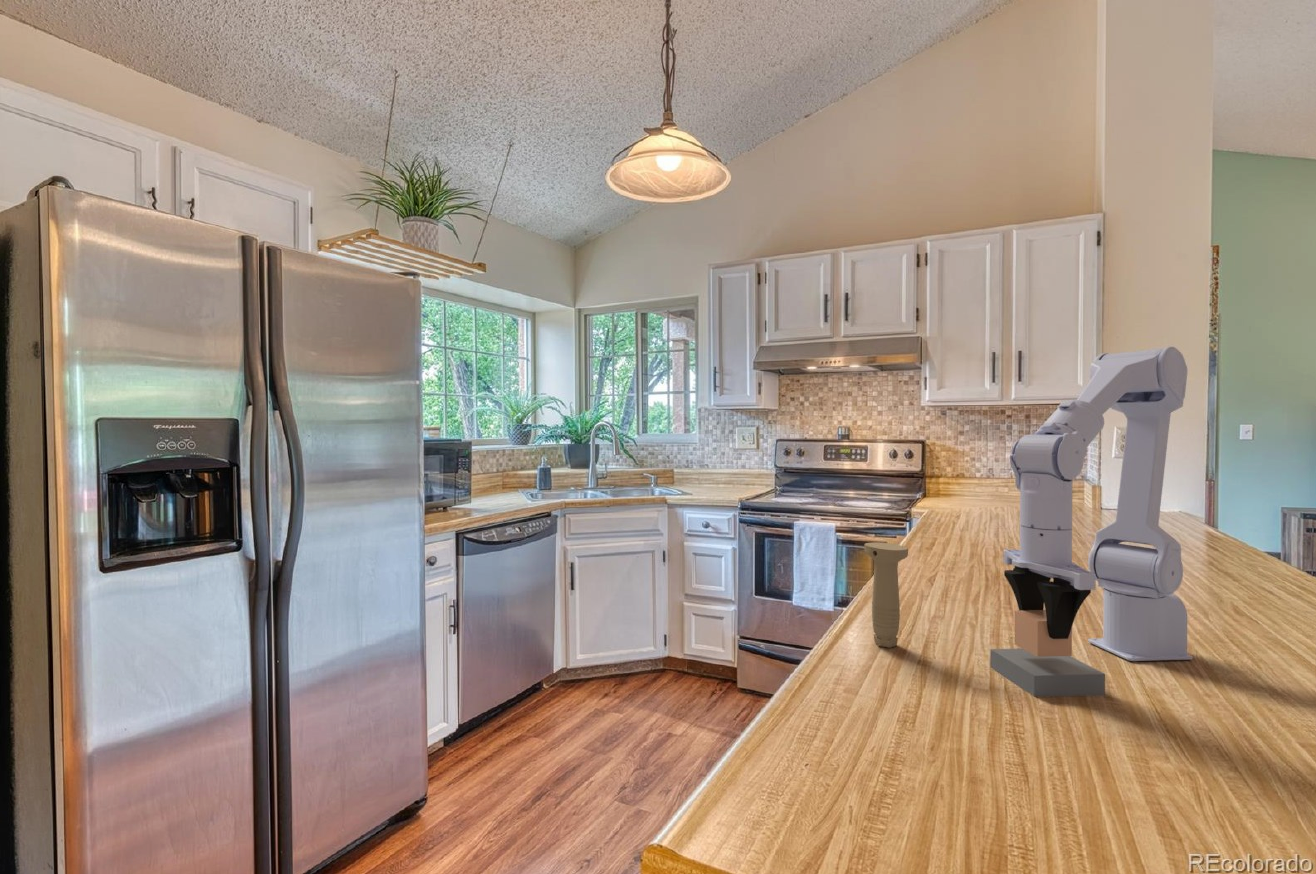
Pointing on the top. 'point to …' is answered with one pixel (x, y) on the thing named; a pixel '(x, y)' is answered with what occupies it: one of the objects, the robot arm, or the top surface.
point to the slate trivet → (1047, 673)
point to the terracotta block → (1039, 635)
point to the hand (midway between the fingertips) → (1044, 631)
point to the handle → (885, 591)
